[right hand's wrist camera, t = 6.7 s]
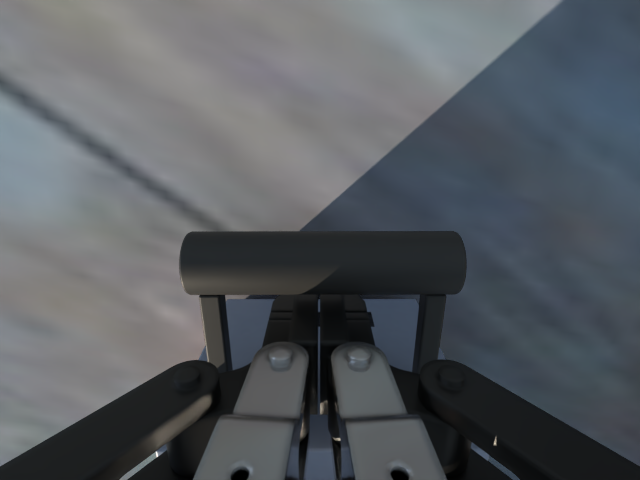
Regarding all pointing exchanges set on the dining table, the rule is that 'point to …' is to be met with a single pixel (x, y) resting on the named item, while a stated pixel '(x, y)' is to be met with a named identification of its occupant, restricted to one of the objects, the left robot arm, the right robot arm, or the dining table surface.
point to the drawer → (323, 279)
